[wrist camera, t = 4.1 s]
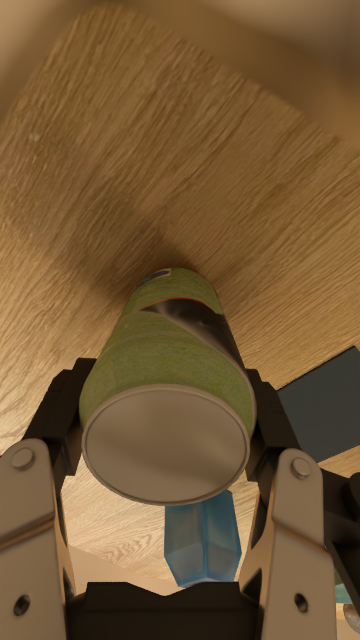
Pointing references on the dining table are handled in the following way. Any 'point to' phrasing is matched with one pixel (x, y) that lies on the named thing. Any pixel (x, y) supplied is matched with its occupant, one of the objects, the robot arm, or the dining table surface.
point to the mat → (326, 406)
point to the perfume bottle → (202, 541)
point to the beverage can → (168, 396)
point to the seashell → (352, 617)
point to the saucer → (340, 590)
